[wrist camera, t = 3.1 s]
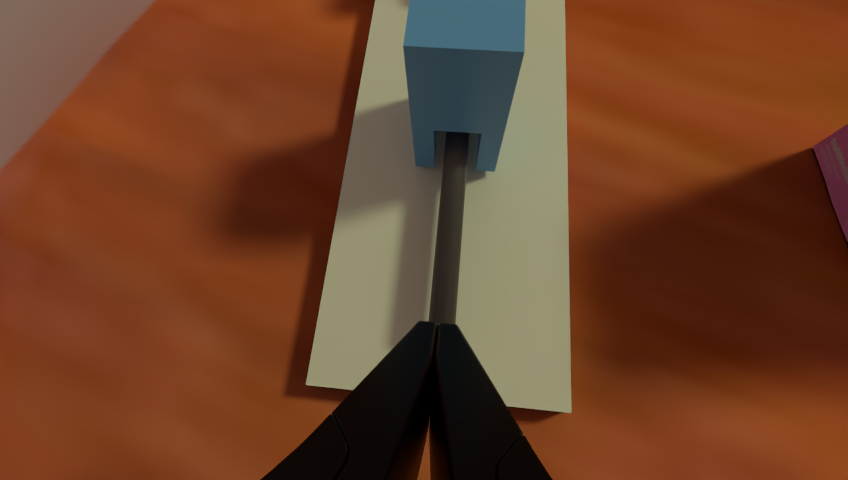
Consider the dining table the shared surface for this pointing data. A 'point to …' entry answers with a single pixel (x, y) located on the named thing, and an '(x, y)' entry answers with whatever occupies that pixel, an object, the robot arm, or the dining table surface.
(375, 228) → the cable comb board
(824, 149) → the gum box
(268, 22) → the dining table surface
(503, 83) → the blue block
